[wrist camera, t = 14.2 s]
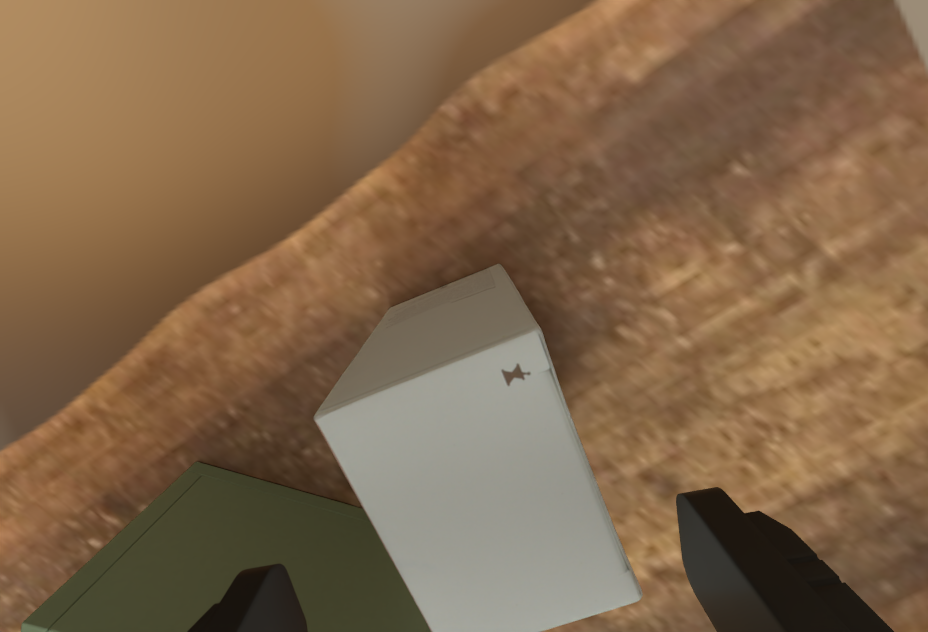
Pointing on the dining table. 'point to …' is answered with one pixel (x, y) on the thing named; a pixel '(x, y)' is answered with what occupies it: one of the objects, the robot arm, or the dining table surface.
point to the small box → (475, 465)
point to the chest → (233, 562)
